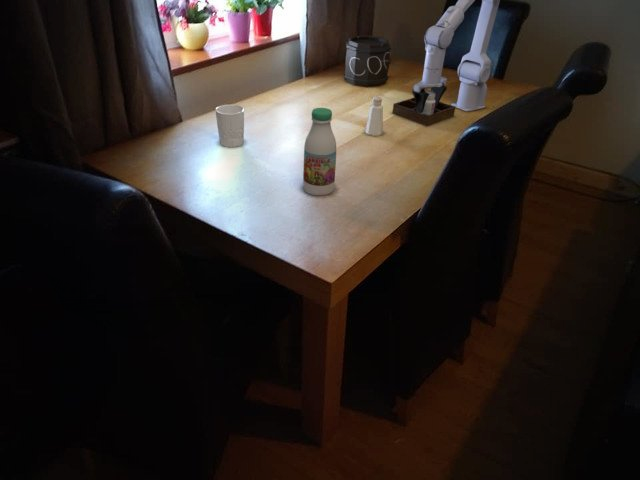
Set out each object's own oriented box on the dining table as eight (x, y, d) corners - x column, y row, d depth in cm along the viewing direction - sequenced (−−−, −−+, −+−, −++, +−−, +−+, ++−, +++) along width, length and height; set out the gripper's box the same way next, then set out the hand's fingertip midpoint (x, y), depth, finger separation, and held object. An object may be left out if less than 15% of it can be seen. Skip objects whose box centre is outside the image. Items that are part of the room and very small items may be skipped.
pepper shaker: (372, 128, 160) (376, 93, 154) (386, 133, 157) (390, 98, 151) (361, 132, 157) (364, 97, 151) (374, 137, 154) (378, 102, 148)
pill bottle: (432, 121, 165) (436, 96, 161) (417, 120, 166) (421, 94, 161) (432, 116, 169) (436, 91, 165) (418, 115, 170) (422, 90, 165)
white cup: (250, 140, 149) (248, 106, 143) (237, 150, 142) (236, 115, 137) (226, 135, 151) (223, 102, 145) (213, 145, 144) (210, 111, 139)
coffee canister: (391, 89, 195) (396, 46, 186) (344, 87, 195) (347, 44, 186) (386, 75, 210) (391, 35, 201) (343, 73, 210) (346, 33, 201)
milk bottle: (302, 181, 128) (303, 104, 117) (332, 181, 129) (337, 104, 117) (304, 196, 122) (305, 116, 110) (335, 196, 122) (340, 116, 111)
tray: (419, 104, 181) (420, 95, 179) (453, 116, 172) (455, 106, 170) (392, 113, 172) (393, 103, 170) (427, 126, 164) (428, 116, 162)
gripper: (429, 74, 152) (422, 117, 159) (457, 66, 160) (449, 108, 168) (411, 68, 156) (405, 111, 164) (439, 61, 164) (432, 102, 172)
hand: (426, 109), depth 166 cm, fingers open, 7 cm apart
